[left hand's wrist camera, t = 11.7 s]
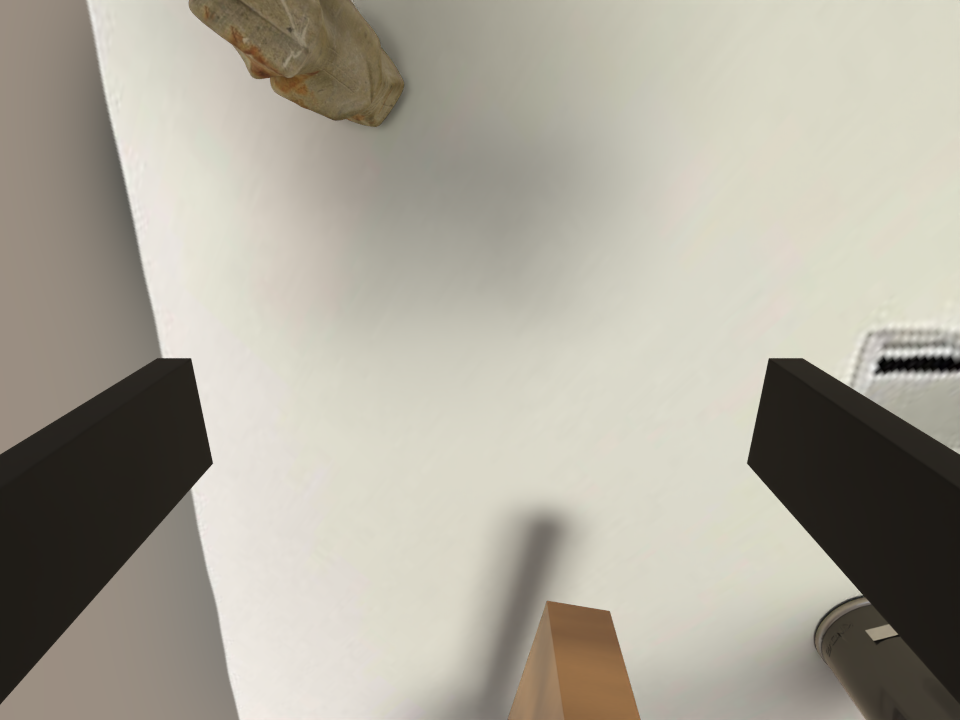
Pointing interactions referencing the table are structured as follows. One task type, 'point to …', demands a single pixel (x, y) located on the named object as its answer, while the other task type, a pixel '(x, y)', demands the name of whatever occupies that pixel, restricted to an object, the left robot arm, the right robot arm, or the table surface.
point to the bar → (574, 669)
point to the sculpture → (310, 54)
